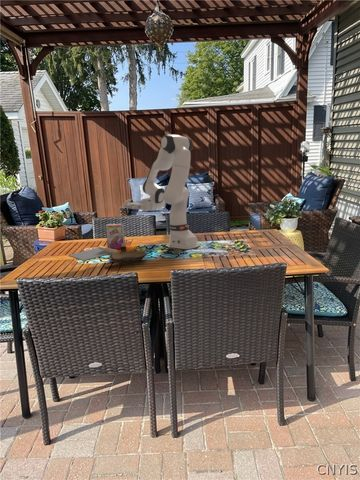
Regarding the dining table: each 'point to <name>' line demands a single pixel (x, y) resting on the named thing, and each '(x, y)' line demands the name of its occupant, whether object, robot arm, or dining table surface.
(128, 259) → the oil lamp
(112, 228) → the candy bar box
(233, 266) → the dining table surface
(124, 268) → the dining table surface
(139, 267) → the dining table surface
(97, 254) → the grey mat
